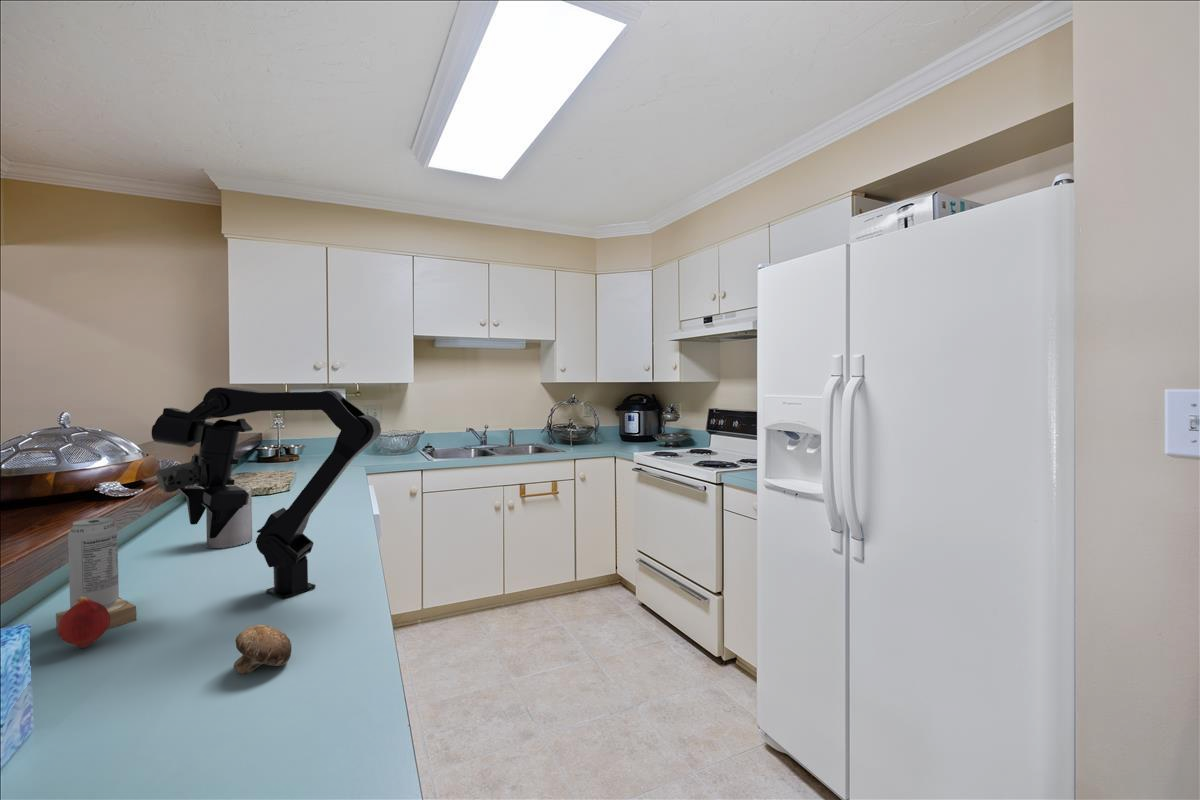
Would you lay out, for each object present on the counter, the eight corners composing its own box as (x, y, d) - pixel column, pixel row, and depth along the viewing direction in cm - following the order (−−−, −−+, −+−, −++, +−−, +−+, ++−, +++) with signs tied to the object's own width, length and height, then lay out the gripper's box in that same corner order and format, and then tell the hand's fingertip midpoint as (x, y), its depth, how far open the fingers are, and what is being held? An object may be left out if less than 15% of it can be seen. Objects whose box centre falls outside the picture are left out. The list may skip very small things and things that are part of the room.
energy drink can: (109, 598, 94) (107, 514, 94) (125, 604, 92) (123, 518, 91) (63, 611, 89) (60, 522, 88) (79, 618, 86) (76, 527, 86)
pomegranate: (107, 634, 86) (105, 586, 86) (114, 645, 83) (112, 595, 83) (56, 648, 82) (54, 597, 82) (61, 660, 78) (59, 607, 78)
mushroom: (208, 663, 71) (240, 618, 74) (231, 658, 79) (259, 617, 81) (262, 689, 72) (293, 643, 75) (280, 682, 79) (307, 640, 82)
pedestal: (136, 620, 92) (136, 604, 92) (73, 639, 85) (73, 622, 85) (117, 610, 96) (117, 594, 96) (56, 627, 89) (55, 611, 89)
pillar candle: (211, 540, 139) (210, 483, 138) (255, 536, 143) (254, 481, 142) (202, 551, 130) (200, 490, 129) (249, 546, 134) (248, 487, 133)
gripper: (148, 440, 100) (133, 521, 100) (185, 461, 90) (168, 551, 90) (216, 442, 110) (202, 516, 110) (256, 461, 99) (241, 543, 99)
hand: (202, 530), depth 102 cm, fingers open, 9 cm apart
